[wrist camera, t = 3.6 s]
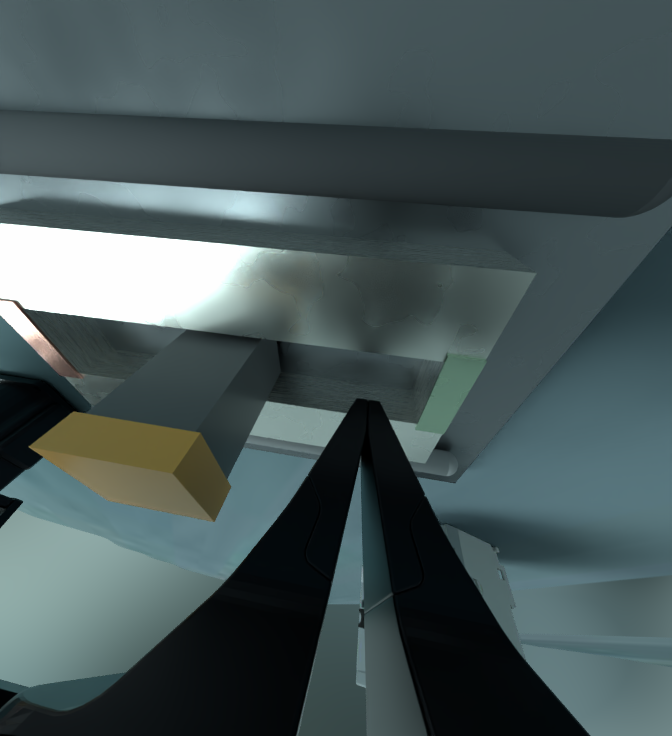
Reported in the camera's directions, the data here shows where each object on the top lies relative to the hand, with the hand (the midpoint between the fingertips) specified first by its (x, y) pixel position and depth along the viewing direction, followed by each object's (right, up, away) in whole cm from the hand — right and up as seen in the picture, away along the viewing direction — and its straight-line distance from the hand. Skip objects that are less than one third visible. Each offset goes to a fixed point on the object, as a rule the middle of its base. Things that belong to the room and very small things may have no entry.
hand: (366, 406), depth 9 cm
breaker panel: (-5, +3, +3) cm, 7 cm away
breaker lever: (-5, +3, +2) cm, 6 cm away
